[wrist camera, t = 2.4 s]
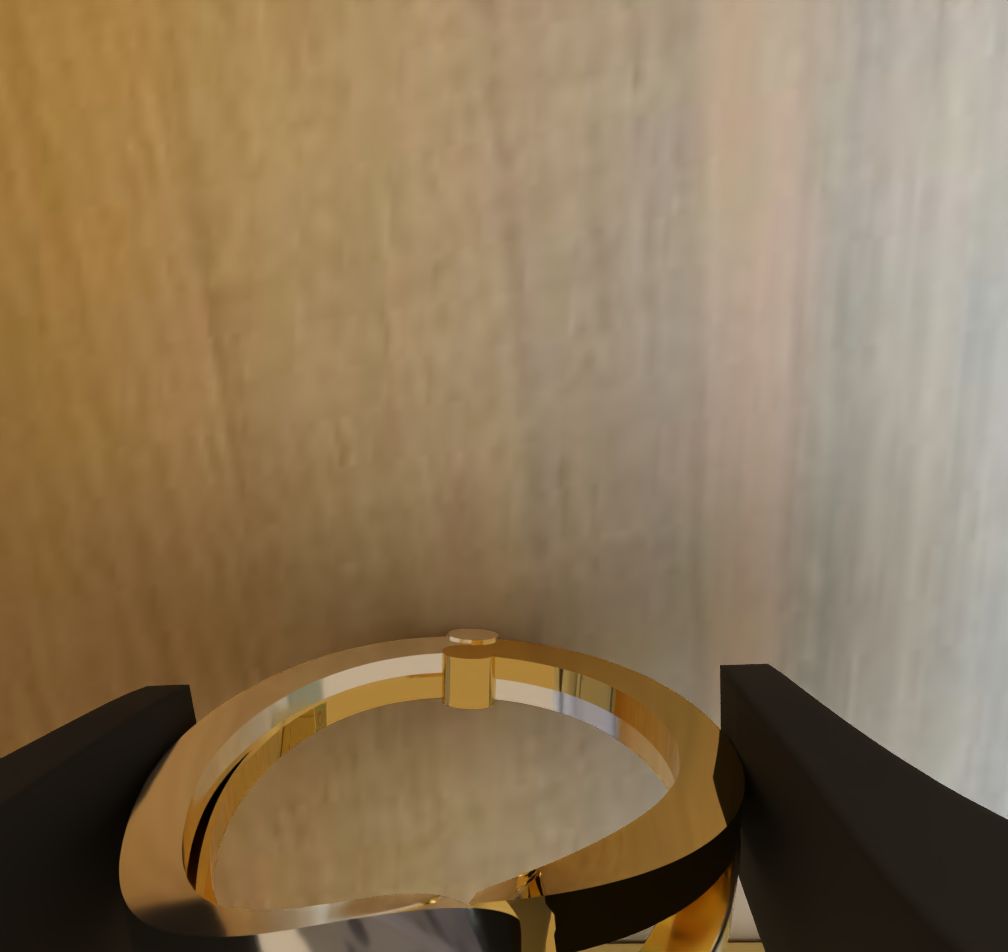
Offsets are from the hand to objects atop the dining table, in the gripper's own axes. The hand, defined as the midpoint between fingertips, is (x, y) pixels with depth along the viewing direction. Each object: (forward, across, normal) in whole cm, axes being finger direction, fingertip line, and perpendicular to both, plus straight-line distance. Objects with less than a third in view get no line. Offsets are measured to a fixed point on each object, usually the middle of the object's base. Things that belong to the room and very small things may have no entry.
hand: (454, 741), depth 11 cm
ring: (+3, 0, 0) cm, 3 cm away
